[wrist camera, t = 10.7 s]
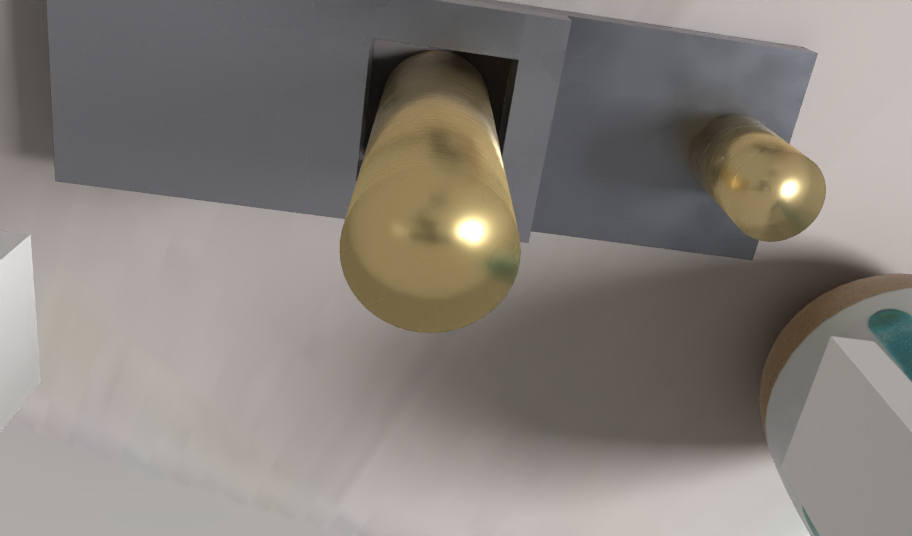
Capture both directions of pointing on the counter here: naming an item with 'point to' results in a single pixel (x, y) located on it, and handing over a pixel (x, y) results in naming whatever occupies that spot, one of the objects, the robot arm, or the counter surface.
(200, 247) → the counter surface
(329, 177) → the grey slide latch
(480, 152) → the pin
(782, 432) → the vase
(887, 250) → the counter surface
